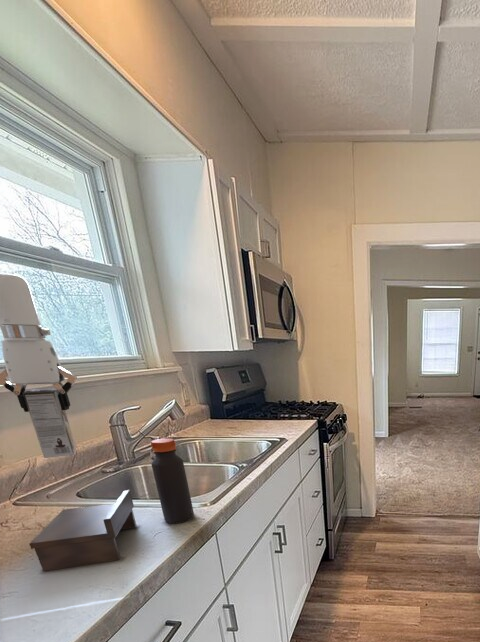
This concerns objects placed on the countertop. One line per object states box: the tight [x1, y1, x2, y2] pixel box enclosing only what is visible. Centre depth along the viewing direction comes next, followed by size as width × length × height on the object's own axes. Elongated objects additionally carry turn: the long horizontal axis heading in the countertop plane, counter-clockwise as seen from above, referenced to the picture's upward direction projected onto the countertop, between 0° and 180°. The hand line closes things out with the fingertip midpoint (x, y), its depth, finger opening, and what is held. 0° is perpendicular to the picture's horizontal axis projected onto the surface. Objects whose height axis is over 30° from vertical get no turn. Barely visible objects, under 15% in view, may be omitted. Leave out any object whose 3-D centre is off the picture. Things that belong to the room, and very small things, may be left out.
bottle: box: [150, 437, 195, 524], centre depth 98 cm, size 7×7×20 cm
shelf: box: [29, 489, 137, 572], centre depth 86 cm, size 14×18×9 cm
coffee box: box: [23, 387, 77, 459], centre depth 103 cm, size 9×6×16 cm
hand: (47, 409), depth 102 cm, fingers closed on coffee box, 7 cm apart
